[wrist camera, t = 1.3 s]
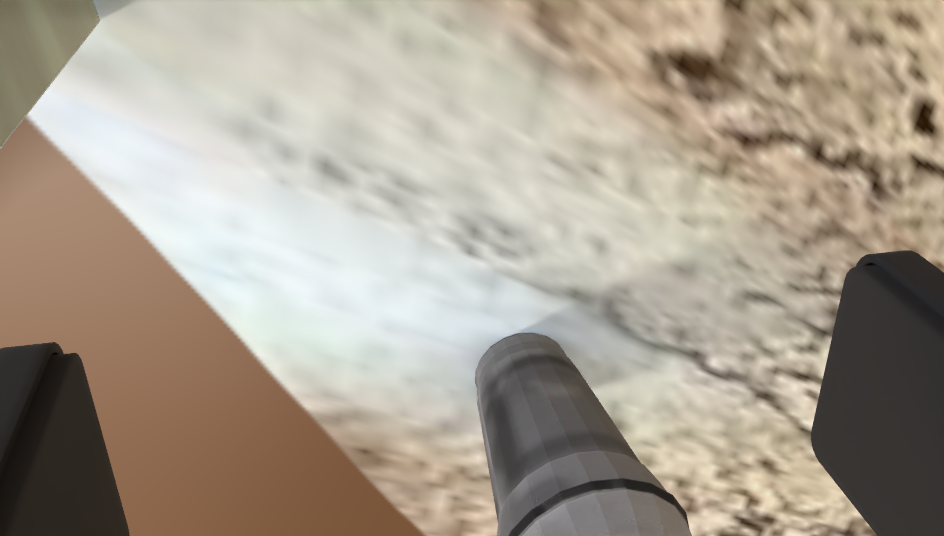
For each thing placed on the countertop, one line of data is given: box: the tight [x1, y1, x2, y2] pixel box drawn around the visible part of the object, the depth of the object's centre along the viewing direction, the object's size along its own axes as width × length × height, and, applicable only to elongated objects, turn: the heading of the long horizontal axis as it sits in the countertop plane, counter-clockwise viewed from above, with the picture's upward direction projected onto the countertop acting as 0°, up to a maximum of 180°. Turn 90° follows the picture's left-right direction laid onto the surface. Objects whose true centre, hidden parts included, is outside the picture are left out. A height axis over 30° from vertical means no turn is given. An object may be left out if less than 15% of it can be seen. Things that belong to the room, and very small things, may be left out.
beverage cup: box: [475, 333, 692, 536], centre depth 33 cm, size 7×7×20 cm
